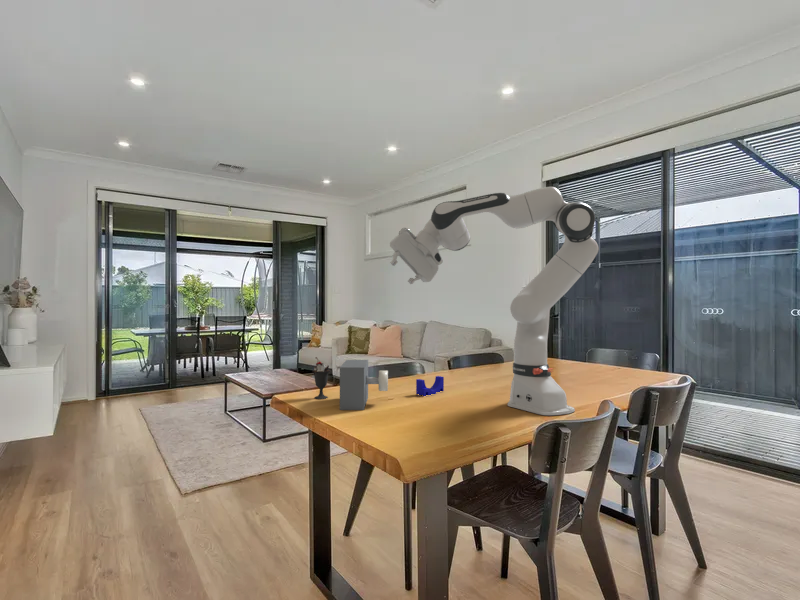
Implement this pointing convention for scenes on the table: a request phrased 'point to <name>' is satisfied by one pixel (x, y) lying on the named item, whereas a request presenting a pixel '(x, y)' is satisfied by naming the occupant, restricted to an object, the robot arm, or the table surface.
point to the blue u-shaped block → (436, 387)
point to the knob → (379, 380)
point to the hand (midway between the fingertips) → (401, 273)
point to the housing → (353, 385)
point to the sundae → (321, 378)
